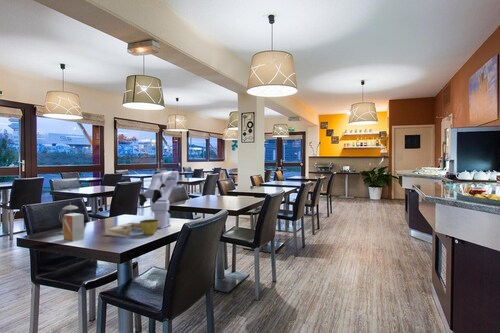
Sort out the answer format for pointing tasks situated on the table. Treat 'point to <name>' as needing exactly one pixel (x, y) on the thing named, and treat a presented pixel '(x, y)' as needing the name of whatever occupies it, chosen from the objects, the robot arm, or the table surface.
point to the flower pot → (149, 226)
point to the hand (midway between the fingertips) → (146, 203)
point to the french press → (67, 209)
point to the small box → (73, 226)
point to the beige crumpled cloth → (123, 229)
